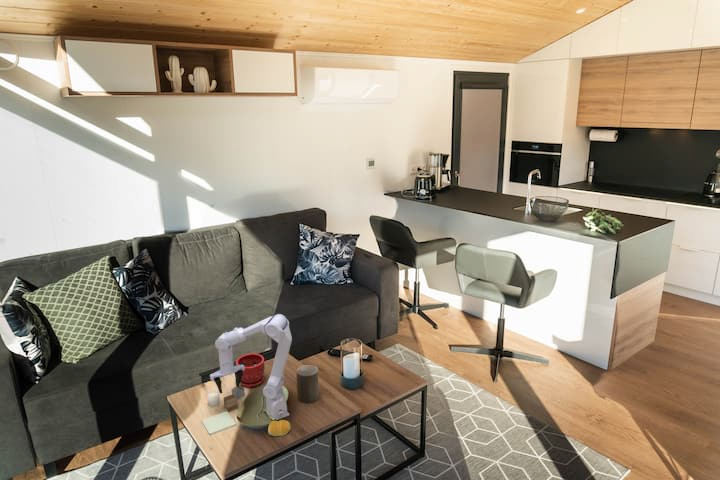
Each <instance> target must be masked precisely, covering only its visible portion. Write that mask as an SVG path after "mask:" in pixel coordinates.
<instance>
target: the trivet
mask: <svg viewBox="0 0 720 480" xmlns="http://www.w3.org/2000/svg"><path fill="white" fill-rule="evenodd" d="M201 422H202V424H203V426H204V427H205V429H206V431H207V432H208V434H209V436H213V435H215V434H216V433H220V432H222V431H224V430H227V429H229V428H232V427H236V426H237V422H236V421H235V420H234V419H233V417H232V416H231V415H230V412H227V410H226V411H223V412H221V413H218V414H215V415H212V416H210V417H206V418H204V419H201Z"/></svg>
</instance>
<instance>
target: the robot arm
mask: <svg viewBox="0 0 720 480" xmlns="http://www.w3.org/2000/svg"><path fill="white" fill-rule="evenodd" d="M258 333H262V334H263V335H267V336H268V337H269V338H271V340H273V341H274V342H276V343H277V348H276V352H275V356H274V360H273V363H272V368H271V372H270V375H269V377H268V379H267V382H266V385H265V386H264V387H263V389H262V394H263V396H264V397H265V400H266V401H265V403H266V404H265V405H266V409H267V413H268V414H270V415H272V416H273V417H274V418H275V419H276V420H275V421H279V420H282V419H283V418H286V417H289V416H290V413H289V412H288V405H287V401H286V400H285V398H284V390H283V387H284V385H285V378H284V377H285V374H284V372H285V371H284V370H285V367H286V364H287V360H288V357H289V353H290V348H291V345H292V342H293V337H292V333H291V329H290V320H288V319H287V318H286V316H285V315H283V314H281V313H277V314H275V315H273V316H272V315H271V316H268V317H267V318H264V319H262V320H260V321H258V322H256V323H254V324H252V325H249V326H248V327H246V328H244V327H237V326H236V327H235V328H233V330H231V331H229V332H228V331H226V332H224V333H222V334H221V335H220V336H219V337H218V338H217V339H216V340H215V342H214V346H215V348H216V349H217V350H218V351H217V352H218V360H219V361H218V362H219V370H216V371H215V372H213V373H211V374H209V377H210V378H209V379H210V380H211V381H213V382H214V383H215V384H216V387H217V389H218V390H217V391H218V392H219V394H222V393H223V388H222V383H223V382H222V380H221V377H224V376H225V377H226V376H227V377H228V376H231V375H233V374H234V377H235V387H236V386H237V387H238V388H239V386H241V384H240V381H241V378H242V376H243V372H242V371H243V370H245V368H244V366H245V364H244V365H243V364H242V363H241V364H240V365H237V366H236V365H235V364H234V363H235V362H234V352H233V346H234V345H237V344H240V343H242V342H245V341H246V340H247V338H248V337H250V336H252V335H255V334H258Z"/></svg>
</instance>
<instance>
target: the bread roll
mask: <svg viewBox="0 0 720 480" xmlns="http://www.w3.org/2000/svg"><path fill="white" fill-rule="evenodd" d="M291 427H292V426H291V424H290V422H289V421H288V420H285V419H279V420H276V421H271V422H269V425H268V428H267V429H268V430H267V432H268V435H269V436H271V437H279V436H280V437H281V436H286V435H287V434H288V433H289V431H290V430H291Z"/></svg>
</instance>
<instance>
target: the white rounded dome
mask: <svg viewBox="0 0 720 480" xmlns="http://www.w3.org/2000/svg"><path fill="white" fill-rule="evenodd" d="M206 397H207V403H208V407H210V408H217V407H218V406H220V405H221V399H220V392H219V390H212V391H209V392H208V393H207V396H206Z"/></svg>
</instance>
